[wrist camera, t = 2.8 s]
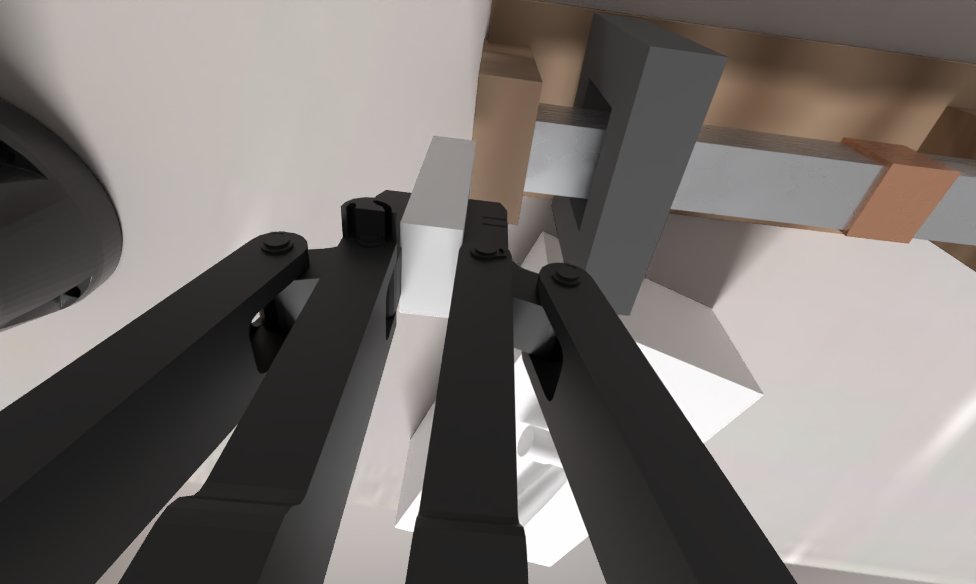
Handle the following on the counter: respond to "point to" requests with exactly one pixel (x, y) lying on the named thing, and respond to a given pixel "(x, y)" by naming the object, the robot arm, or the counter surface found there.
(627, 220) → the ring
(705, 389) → the white pegged block
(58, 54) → the counter surface
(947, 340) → the counter surface
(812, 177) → the light grey bar
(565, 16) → the wooden stand
